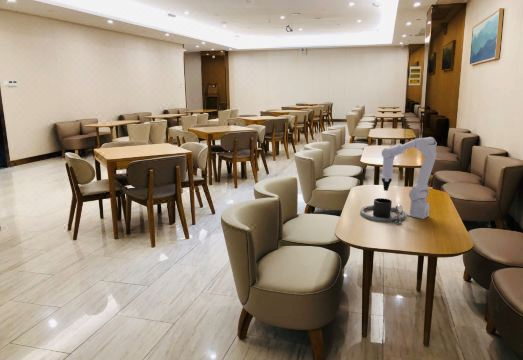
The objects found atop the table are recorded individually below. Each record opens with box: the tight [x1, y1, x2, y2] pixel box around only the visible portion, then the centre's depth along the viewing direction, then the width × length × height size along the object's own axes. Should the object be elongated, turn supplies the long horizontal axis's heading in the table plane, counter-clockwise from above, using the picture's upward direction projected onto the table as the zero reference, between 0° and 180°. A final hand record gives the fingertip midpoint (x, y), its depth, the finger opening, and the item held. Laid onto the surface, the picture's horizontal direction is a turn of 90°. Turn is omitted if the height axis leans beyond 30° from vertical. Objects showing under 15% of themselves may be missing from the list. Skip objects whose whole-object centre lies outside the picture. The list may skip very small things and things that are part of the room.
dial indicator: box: [393, 204, 404, 226], centre depth 216 cm, size 5×3×10 cm, turn 16°
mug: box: [372, 197, 393, 218], centre depth 228 cm, size 9×12×9 cm
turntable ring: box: [359, 204, 406, 223], centre depth 230 cm, size 24×24×2 cm
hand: (385, 190), depth 246 cm, fingers closed
